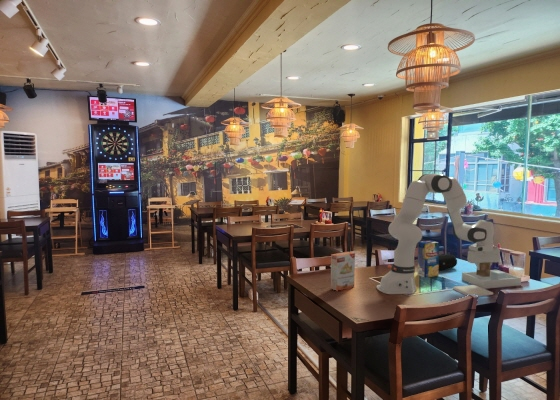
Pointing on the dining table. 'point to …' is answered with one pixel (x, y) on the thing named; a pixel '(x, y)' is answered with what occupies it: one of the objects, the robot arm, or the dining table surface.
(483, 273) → the walnut block
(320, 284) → the dining table surface
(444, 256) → the portable speaker
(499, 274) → the blue-grey block
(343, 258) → the cracker box
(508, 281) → the grey bin
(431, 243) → the blue tall cardboard box
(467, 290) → the cream tile
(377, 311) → the dining table surface
